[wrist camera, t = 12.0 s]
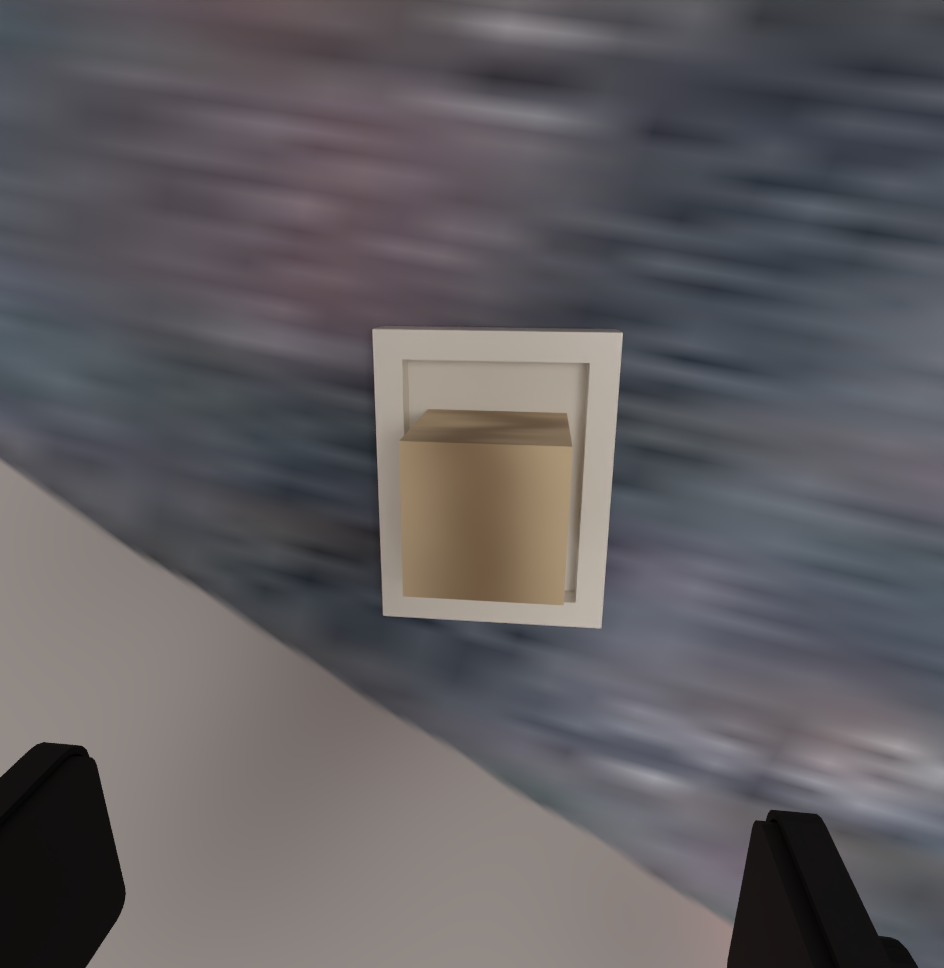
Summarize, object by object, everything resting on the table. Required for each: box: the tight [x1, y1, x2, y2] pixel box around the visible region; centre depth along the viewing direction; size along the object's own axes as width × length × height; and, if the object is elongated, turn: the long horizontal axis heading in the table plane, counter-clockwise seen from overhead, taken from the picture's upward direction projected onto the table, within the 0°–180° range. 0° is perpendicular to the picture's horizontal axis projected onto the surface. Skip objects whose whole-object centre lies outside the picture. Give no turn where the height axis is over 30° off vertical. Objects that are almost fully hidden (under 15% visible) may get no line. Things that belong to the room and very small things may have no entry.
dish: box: [372, 326, 623, 628], centre depth 29 cm, size 10×13×2 cm
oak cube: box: [399, 409, 573, 605], centre depth 26 cm, size 6×6×6 cm
